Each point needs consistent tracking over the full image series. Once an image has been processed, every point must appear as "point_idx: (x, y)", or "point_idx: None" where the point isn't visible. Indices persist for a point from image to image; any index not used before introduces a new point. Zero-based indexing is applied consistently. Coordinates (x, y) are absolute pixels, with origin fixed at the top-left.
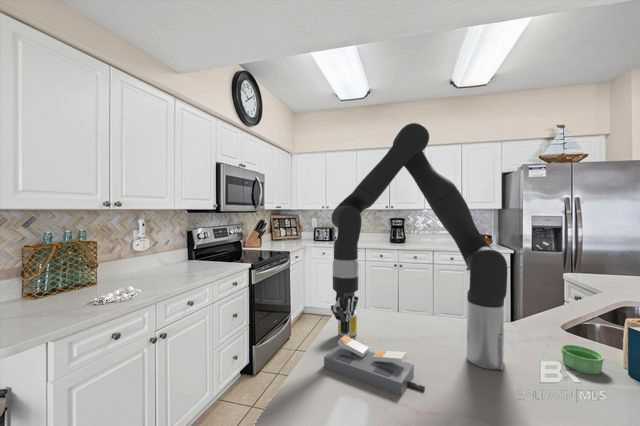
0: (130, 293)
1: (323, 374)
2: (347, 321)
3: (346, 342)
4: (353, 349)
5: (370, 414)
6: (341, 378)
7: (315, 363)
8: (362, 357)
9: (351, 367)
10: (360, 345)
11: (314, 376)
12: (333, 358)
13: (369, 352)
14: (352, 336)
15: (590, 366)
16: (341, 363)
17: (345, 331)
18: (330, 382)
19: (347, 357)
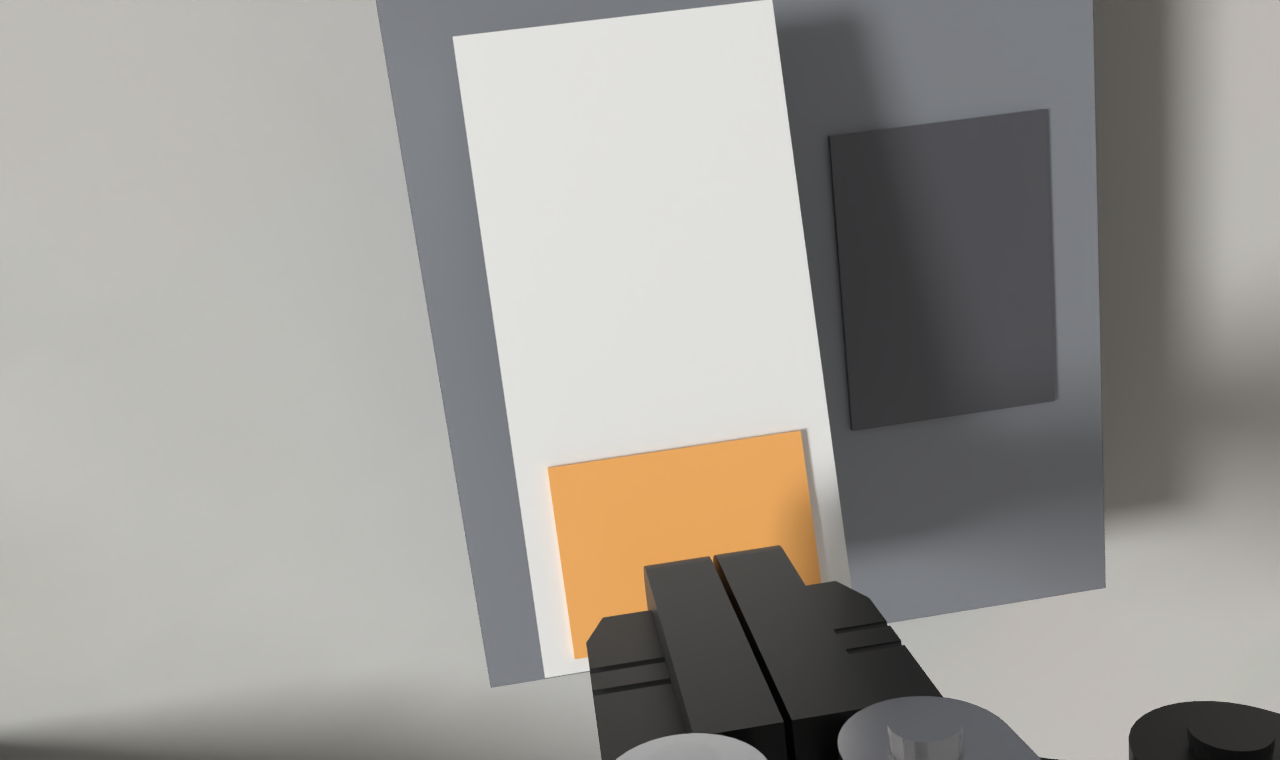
0: None
1: (1169, 412)
2: (896, 699)
3: (777, 458)
4: (800, 231)
5: None
6: (1107, 154)
7: (1007, 678)
8: None
9: (1081, 38)
10: (561, 207)
11: (1274, 469)
12: (1058, 437)
13: (429, 49)
14: None
15: None
16: (1089, 244)
17: (828, 593)
18: (1273, 214)
19: (898, 265)
